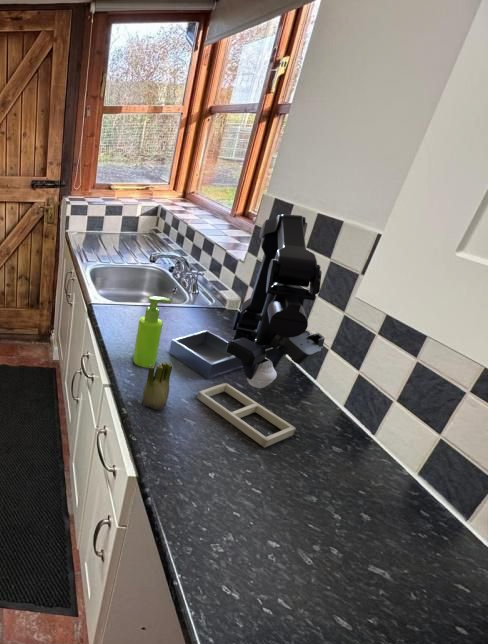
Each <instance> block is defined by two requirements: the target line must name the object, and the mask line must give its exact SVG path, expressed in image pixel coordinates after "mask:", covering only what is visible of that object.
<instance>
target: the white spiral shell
mask: <svg viewBox="0 0 488 644" xmlns="http://www.w3.org/2000/svg"><path fill="white" fill-rule="evenodd" d="M265 359H267V358H266V357H265ZM267 360H269V359H267ZM275 369H276V368H275ZM275 369H274V368H273V364H272V362H271V361H270V360H269V361H267V362H264V363H261V364H260V365H259V367H258V369H257V371H256V373H255V375H254V376H253V378H252V379H251V380H250V379H248V378H247V377H246V380H247V382H248V385H250V386H251V387H254V388H256V389H264V388H266V387H267V386H269V385H270V384H272V383H273V382H274V380H276V378H277V376H278V373H277V371H276V370H275Z"/></svg>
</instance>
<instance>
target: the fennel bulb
mask: <svg viewBox="0 0 488 644" xmlns="http://www.w3.org/2000/svg"><path fill="white" fill-rule="evenodd" d="M173 367H174V364H173V363H171V362H164V361H162V362H161V364H158V365H156V367H155V365H154V366H153V365H150V366H149V368H148V370H147V371H148V372H147V378H146V381H145V385H144V389H143V393H142V394H143V395H142V401H143V404H144V405H145V406H146V407H148V408H151V409H153V410H157V411H158V410H163V409H164V408H166V406H167V402H168V399H169V395H170V379H171V373H172V371H173ZM155 368H156V369H155Z"/></svg>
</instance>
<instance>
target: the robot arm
mask: <svg viewBox="0 0 488 644" xmlns="http://www.w3.org/2000/svg"><path fill="white" fill-rule="evenodd" d="M306 220H307V219H306V216H303V215H298V214H287V213H286V214H285V213H283V214H278V215H277V216H276V217H272V218H268V219H266V220H264V221H263V223H262V225H261V228H260V231H259V239H260V246H261V250H262V252H263V256H262V260H261V263H260V266H259V268H258V269H259V270H258V272H257V276H256V279H255V282H254V286H253V288H252V291H251V295H250V297H249V298H248V299H246V300H245V301H244V302H242V303H241V305H240V308H239V310H236V312H235V314H234V316H233V320H232V331H235V333H234V335H233V339H232V340H231V341H228V344H227V348H226V352H228V353H230V354H231V355H233V356H235V357H237V358H238V359H240V360H241V362H242V365H243V368H242V369H243V372H244V375H245V377H246V379H247V378H248V379H250V380H251V379H252V378H253V376H254V375H255V373H256V371H257V369H258V367H259V365H260V364H261V363H264V362H267V361H269V360H270V361H271V362H272V364H273V368H274V369H276V368H277V367H278V365H279V364H280V363H281V362H282V360H284V358H285V357H286V356H288V357H289V358H290V360H291V361H292V362H293V363H295V364H297V365H301V364H303V363H306V362H309V361H311V360H312V359H313V358H315V357H316V356H317V355H318V354H320V353H323V350H324V344H325V339H326V338H325V337H324V336H323V335H322V334H321V333H319V332H316V333H313V334H311V333H310V332H309V330H307V329H308V327H309V323H308V318H307V315H306V311H305V308H304V302H305V300H309V301H315V299H316V296H317V295H319V293H320V291H321V283H322V273H323V272H322V270H321V266H320V264H318V260H317V257H316V255H315V253H314V252H311V251H310V250H308V249H307V247H306V239H305V238H306V234H307V229H308V222H307V221H306ZM301 287H302V288H301ZM308 287H309V289H307V288H308ZM265 358H267V359H269V360H267V359H265Z"/></svg>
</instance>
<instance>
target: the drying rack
mask: <svg viewBox="0 0 488 644" xmlns="http://www.w3.org/2000/svg"><path fill="white" fill-rule="evenodd" d="M224 392H225V393H226V394H228V395H229V396H230V397H233V398H234V399H235V400H237V401H238V402H240V403H241V404H243V405H244V406H243V407H241V408H238V409H236V410H234V411H230V410H229V409H227V408H226V407H224V406H223V405H222V404H220V403H219V402H217V401H216V400H214V399H213V398H212V397H214V396H216V395H218V394H221V393H224ZM196 399H197V400H199V401H200V402H202V403H203V404H205V405H206V406H207V407H208V408H210V409H211V410H212V411H214V412H215V413H216V414H218V415H219V416H221V417H222V418H223V419H225V420H226V421H227V422H228V423H230V424H231V425H233V426H234V427H235V428H236V429H238V430H240V431H241V432H242V433H244V434H245V435H247V436H248V437H249V438H250V439H252V440H253V441H255V442H256V443H257V444H259V445H260V446H261V447H263V448H267V447H269V446H272V445H274V444H276V443H278V442H281V441H283V440H285V439H288V438H291V437H292V436H294V435H295V432H296V429H297V427H295V426H294V425H292V424H291V423H290V422H287V421H286V420H284V419H283V418H281V417H280V416H278V415H276V413H274V412H272V411H271V410H269V409H267V408H266V407H265V406H264V405H263V406H262V405H261V404H260V403H258V402H257V401H255V400H254V399H252V398H250V397H249V396H248V395H246V394H244V393H243V392H241V391H239V390H238V389H237V388H235V387H233V386H232V385H231V384H229V383H227V382H223V383H221V384H220V383H219V384H217V385H215V386H211V387H209V388H208V387H207V388H206V389H202V390H199V391H198V393H197V397H196ZM254 413H256V414H257V415H259V416H260V417H262V418H264V419H265V420H266V421H268V422H269V423H271V424H272V425H274V426H275V427H277V428H278V429H280V431H277V432H275V433H273V434H270V435H268V436H265V435H264V434H263V433H261V432H260V431H258V430H257V429H256V428H254V427H253V426H251V425H249V424H248V423H247V422H245V421H244V420H243V419H241V418H244V417H246V416H249V415H251V414H254Z"/></svg>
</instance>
